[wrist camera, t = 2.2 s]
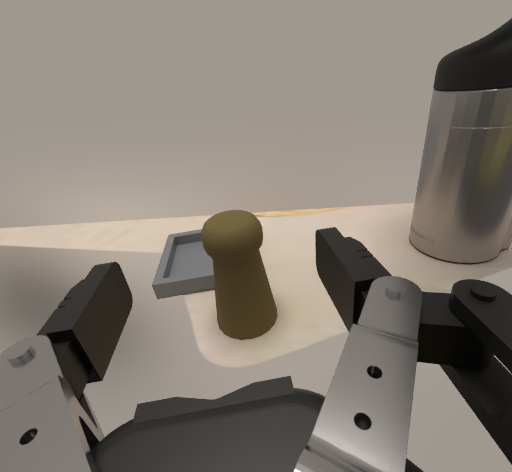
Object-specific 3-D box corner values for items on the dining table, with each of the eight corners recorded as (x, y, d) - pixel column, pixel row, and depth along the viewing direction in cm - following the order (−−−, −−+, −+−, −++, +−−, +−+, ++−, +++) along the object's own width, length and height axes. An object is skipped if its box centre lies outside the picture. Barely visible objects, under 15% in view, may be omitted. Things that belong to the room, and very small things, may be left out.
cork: (205, 319, 28) (177, 222, 23) (248, 287, 32) (232, 197, 27) (246, 351, 24) (223, 243, 19) (289, 311, 28) (281, 210, 23)
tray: (250, 233, 43) (248, 221, 42) (260, 281, 33) (258, 267, 32) (172, 246, 43) (168, 234, 42) (157, 298, 32) (152, 285, 31)
